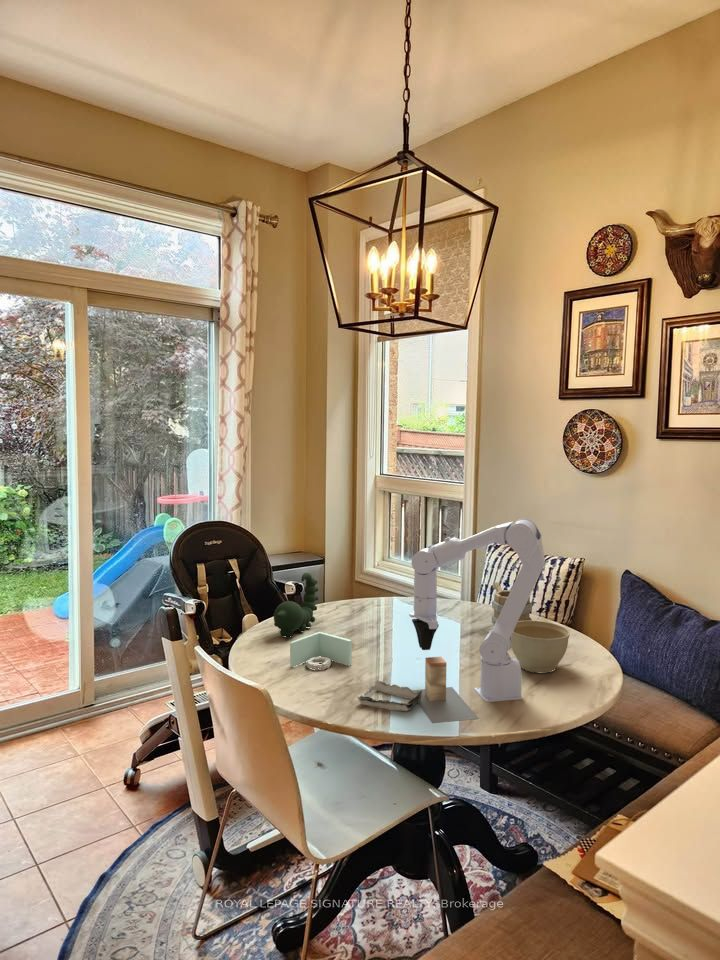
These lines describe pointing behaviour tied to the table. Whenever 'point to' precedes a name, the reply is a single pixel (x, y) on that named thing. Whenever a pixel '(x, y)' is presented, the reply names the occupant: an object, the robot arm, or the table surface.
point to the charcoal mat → (446, 707)
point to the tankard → (500, 600)
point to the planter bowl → (539, 645)
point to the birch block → (435, 678)
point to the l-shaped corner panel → (320, 650)
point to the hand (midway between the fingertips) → (424, 648)
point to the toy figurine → (297, 610)
